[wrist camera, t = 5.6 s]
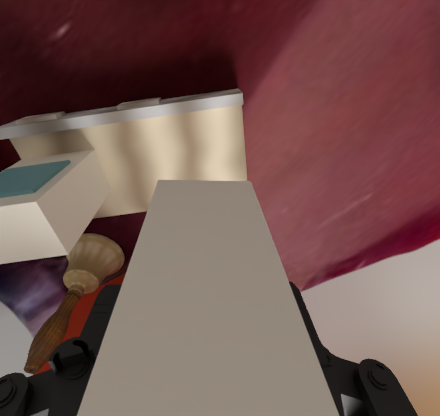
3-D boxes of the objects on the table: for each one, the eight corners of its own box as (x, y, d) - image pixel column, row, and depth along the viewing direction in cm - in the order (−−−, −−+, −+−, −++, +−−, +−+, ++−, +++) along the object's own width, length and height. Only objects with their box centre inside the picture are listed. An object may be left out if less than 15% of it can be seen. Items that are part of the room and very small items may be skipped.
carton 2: (152, 179, 13) (34, 481, 4) (250, 181, 14) (355, 458, 4) (163, 282, 17) (119, 546, 8) (238, 281, 18) (277, 531, 9)
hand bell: (67, 270, 38) (-8, 389, 25) (64, 227, 34) (-27, 343, 21) (122, 277, 40) (81, 393, 26) (127, 238, 36) (80, 351, 22)
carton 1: (93, 146, 26) (33, 197, 17) (111, 190, 29) (68, 254, 20) (20, 157, 26) (-80, 213, 17) (45, 199, 29) (-29, 267, 20)
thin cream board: (237, 84, 26) (242, 88, 23) (246, 189, 32) (250, 203, 29) (12, 117, 26) (-12, 125, 23) (66, 214, 33) (52, 230, 30)
